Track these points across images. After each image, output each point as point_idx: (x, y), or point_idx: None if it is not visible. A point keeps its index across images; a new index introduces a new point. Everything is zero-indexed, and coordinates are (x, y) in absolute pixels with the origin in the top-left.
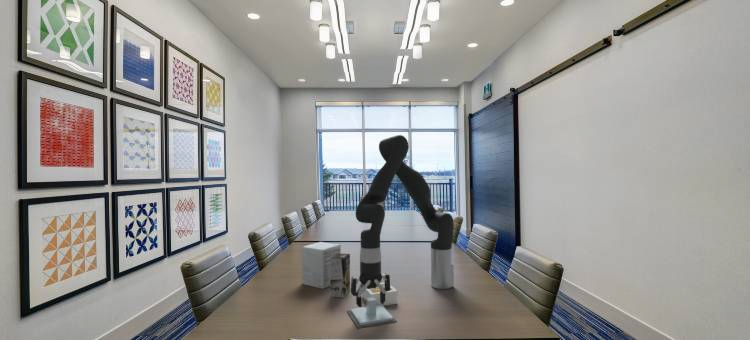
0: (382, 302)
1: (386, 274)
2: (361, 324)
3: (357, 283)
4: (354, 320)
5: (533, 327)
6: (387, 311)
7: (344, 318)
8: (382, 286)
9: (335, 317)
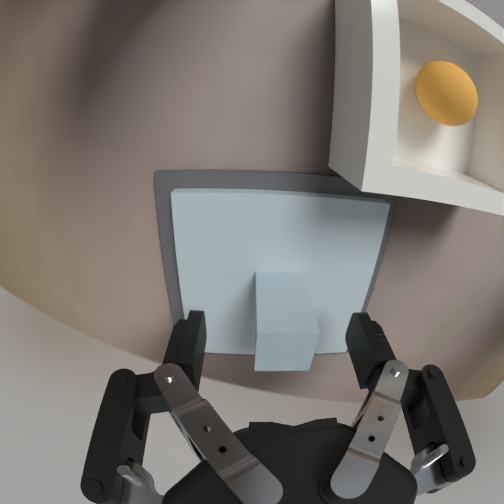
0: (349, 345)
1: (438, 488)
2: None
3: (150, 474)
4: (174, 302)
5: (495, 385)
6: (363, 299)
7: (132, 250)
8: (490, 44)
9: (91, 223)
